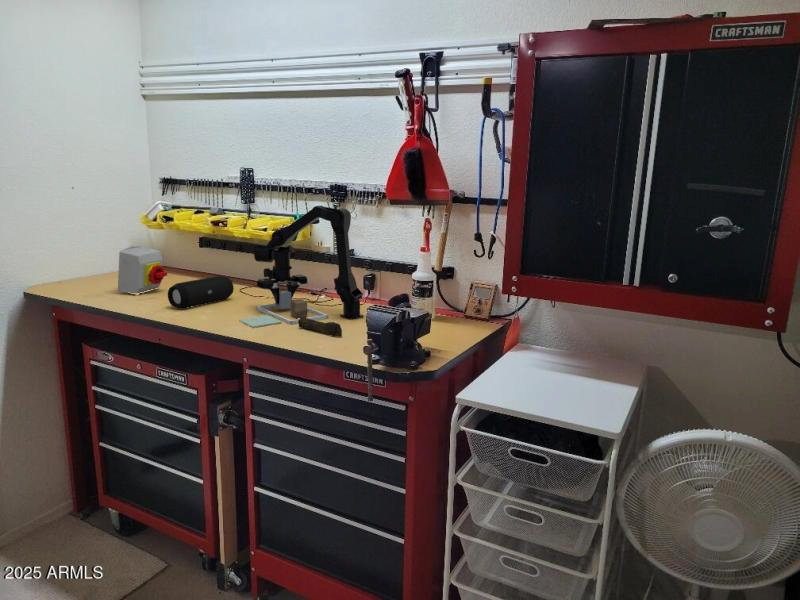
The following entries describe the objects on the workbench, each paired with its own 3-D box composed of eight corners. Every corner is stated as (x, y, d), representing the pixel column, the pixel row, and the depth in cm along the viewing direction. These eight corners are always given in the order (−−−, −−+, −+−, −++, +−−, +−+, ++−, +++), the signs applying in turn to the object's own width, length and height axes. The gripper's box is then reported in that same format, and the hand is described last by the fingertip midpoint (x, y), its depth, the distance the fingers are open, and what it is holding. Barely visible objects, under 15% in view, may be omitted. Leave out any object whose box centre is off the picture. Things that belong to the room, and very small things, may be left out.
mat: (281, 323, 208) (281, 321, 208) (252, 328, 201) (252, 326, 201) (267, 316, 216) (267, 315, 216) (239, 321, 210) (238, 319, 209)
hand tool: (297, 328, 202) (297, 315, 201) (306, 326, 205) (306, 313, 204) (335, 340, 190) (335, 326, 189) (344, 337, 193) (344, 324, 192)
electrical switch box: (147, 301, 245) (150, 255, 240) (117, 294, 248) (119, 247, 243) (170, 294, 259) (172, 250, 254) (140, 287, 262) (143, 243, 257)
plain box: (307, 317, 217) (307, 301, 216) (296, 319, 214) (296, 303, 213) (301, 314, 220) (301, 299, 219) (290, 316, 218) (290, 300, 216)
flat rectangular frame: (328, 318, 216) (328, 315, 216) (290, 324, 207) (290, 321, 206) (291, 303, 237) (291, 300, 237) (255, 309, 227) (255, 306, 227)
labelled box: (291, 307, 226) (291, 291, 224) (280, 309, 223) (280, 293, 222) (285, 305, 229) (285, 289, 228) (275, 306, 226) (274, 291, 225)
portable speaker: (183, 311, 222) (181, 286, 219) (166, 308, 227) (165, 282, 225) (235, 299, 243) (234, 276, 240) (219, 296, 248) (218, 273, 246)
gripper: (293, 258, 234) (294, 296, 238) (249, 262, 223) (251, 302, 226) (308, 262, 226) (308, 301, 229) (263, 266, 214) (264, 308, 218)
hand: (283, 303), depth 226 cm, fingers closed on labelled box, 4 cm apart
